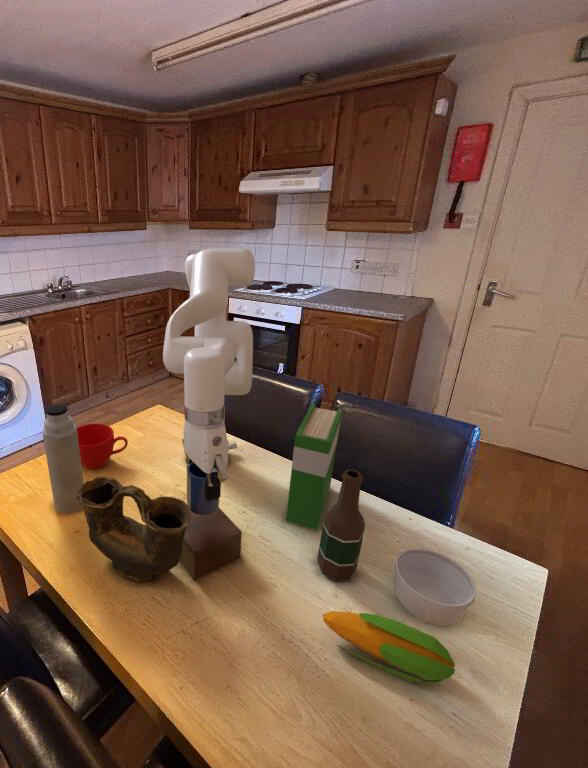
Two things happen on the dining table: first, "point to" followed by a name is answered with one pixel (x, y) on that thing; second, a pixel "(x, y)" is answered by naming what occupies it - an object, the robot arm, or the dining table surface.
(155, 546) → the pottery vessel
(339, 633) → the corn
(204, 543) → the box lid
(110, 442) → the ceramic cup
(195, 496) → the cup
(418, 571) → the ramekin
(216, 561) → the box
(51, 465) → the thermos bottle
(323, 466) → the hardback book
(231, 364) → the robot arm
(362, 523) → the beer bottle
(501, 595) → the dining table surface
